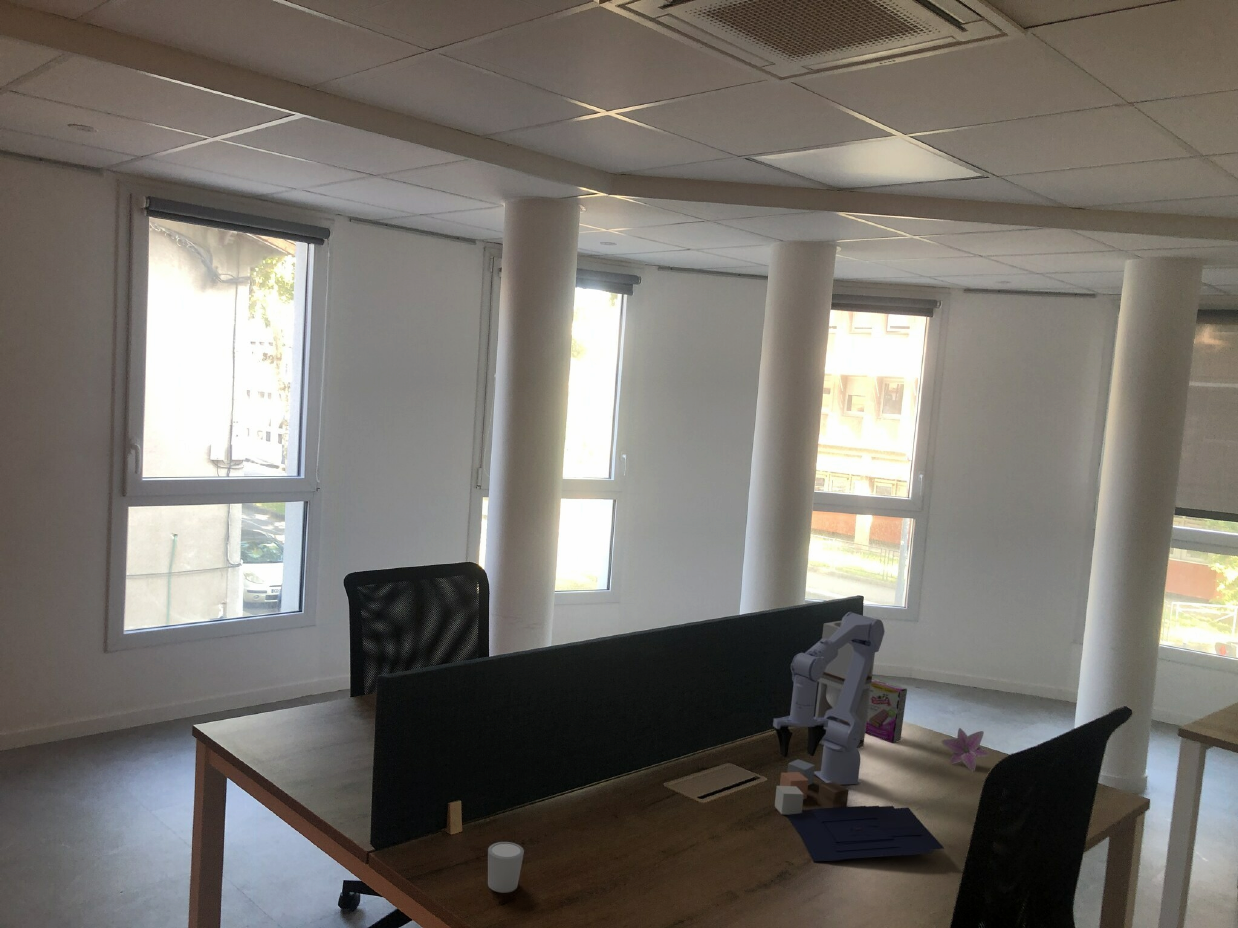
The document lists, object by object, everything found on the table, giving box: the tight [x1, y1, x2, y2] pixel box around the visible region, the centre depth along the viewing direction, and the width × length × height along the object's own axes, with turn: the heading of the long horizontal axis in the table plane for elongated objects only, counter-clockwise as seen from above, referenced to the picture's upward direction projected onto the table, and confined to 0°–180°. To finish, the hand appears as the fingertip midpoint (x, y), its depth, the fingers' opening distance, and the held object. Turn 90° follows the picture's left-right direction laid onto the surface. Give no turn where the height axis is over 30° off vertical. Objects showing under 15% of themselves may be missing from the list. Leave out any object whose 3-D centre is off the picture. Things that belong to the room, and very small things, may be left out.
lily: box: [940, 727, 990, 772], centre depth 274 cm, size 12×12×10 cm
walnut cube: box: [816, 781, 850, 808], centre depth 235 cm, size 5×5×5 cm
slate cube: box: [786, 758, 815, 786], centre depth 248 cm, size 5×5×5 cm
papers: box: [785, 805, 945, 862], centre depth 218 cm, size 24×30×4 cm
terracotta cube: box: [779, 772, 809, 800], centre depth 239 cm, size 5×5×5 cm
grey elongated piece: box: [814, 620, 876, 749], centre depth 279 cm, size 11×11×35 cm
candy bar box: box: [865, 678, 908, 744], centre depth 290 cm, size 11×5×16 cm, turn 46°
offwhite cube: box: [774, 785, 804, 815], centre depth 230 cm, size 5×5×5 cm
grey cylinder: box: [487, 841, 525, 894], centre depth 183 cm, size 7×7×7 cm
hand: (797, 754), depth 239 cm, fingers open, 7 cm apart
